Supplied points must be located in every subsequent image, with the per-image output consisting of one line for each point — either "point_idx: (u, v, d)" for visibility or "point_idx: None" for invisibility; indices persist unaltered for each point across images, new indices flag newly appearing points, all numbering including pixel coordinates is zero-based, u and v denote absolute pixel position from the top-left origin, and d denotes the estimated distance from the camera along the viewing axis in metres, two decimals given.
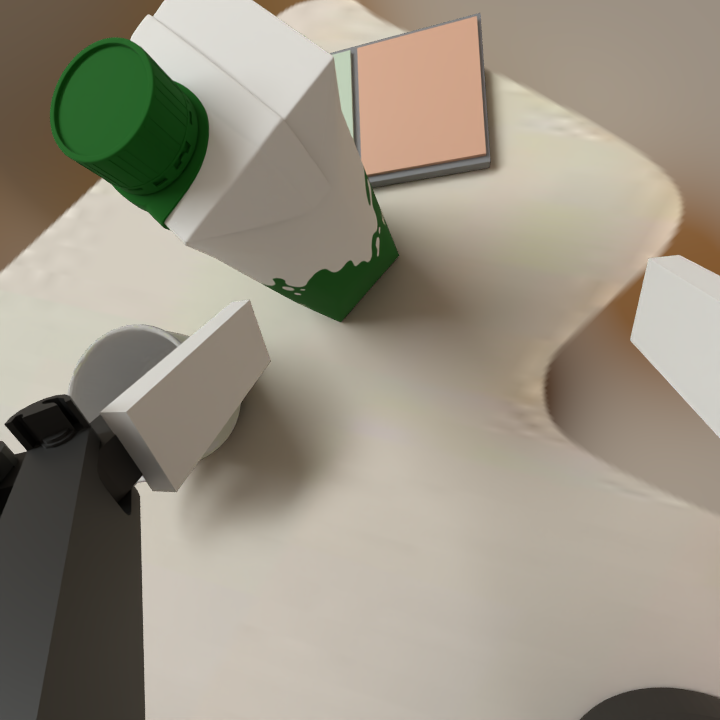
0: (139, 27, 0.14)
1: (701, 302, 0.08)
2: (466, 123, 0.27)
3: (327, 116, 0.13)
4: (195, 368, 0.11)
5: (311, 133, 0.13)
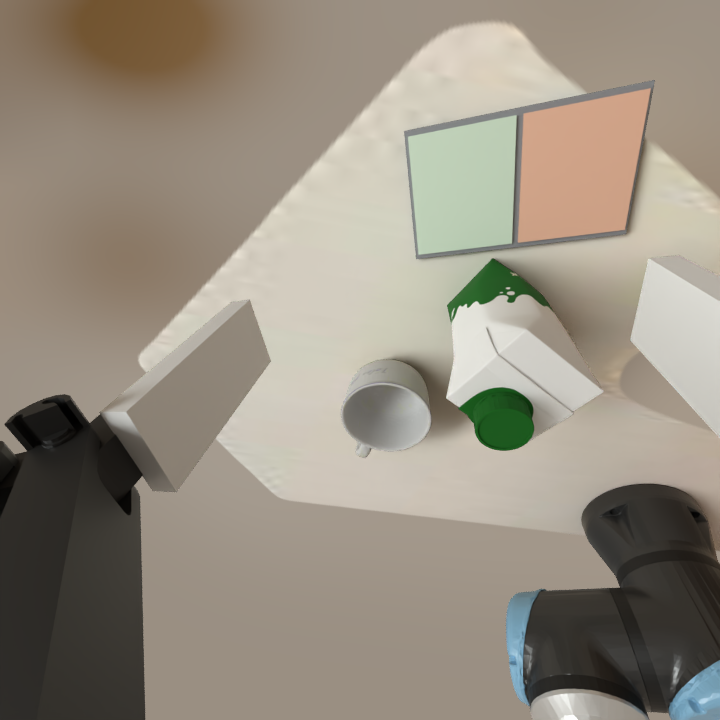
0: (492, 361, 0.26)
1: (701, 302, 0.08)
2: (614, 202, 0.34)
3: None
4: (195, 368, 0.11)
5: None
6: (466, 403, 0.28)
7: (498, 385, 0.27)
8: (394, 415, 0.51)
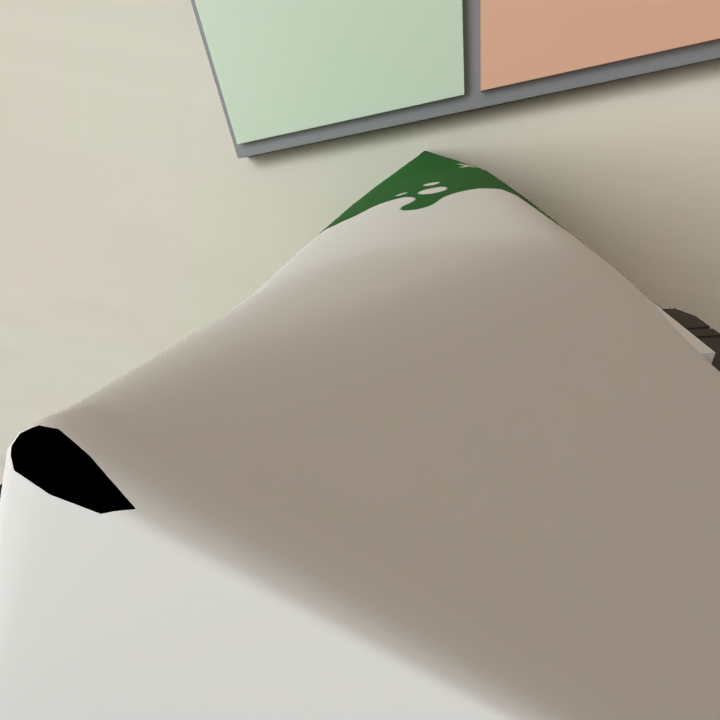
0: None
1: None
2: None
3: None
4: None
5: None
6: None
7: None
8: None
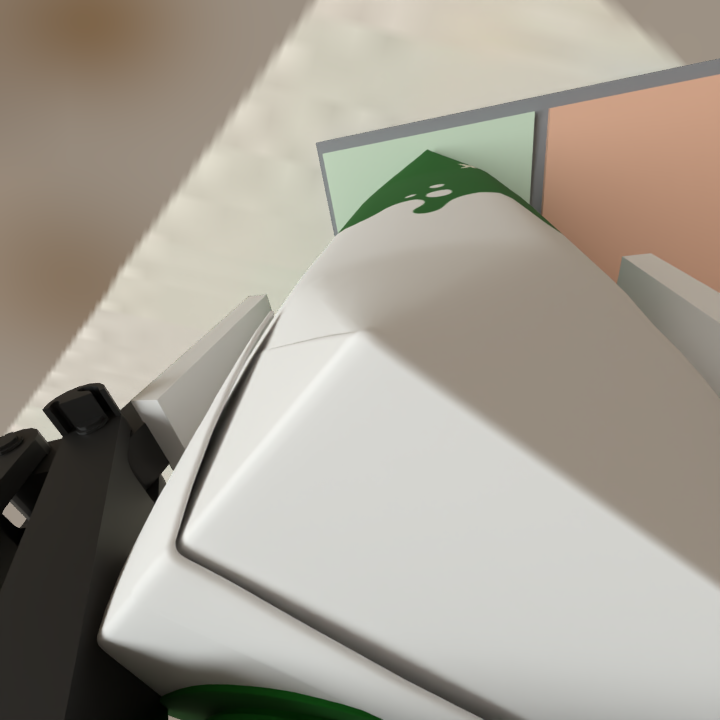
0: (154, 591, 0.03)
1: (665, 297, 0.09)
2: None
3: None
4: (218, 360, 0.11)
5: None
6: (165, 703, 0.05)
7: (281, 680, 0.04)
8: None
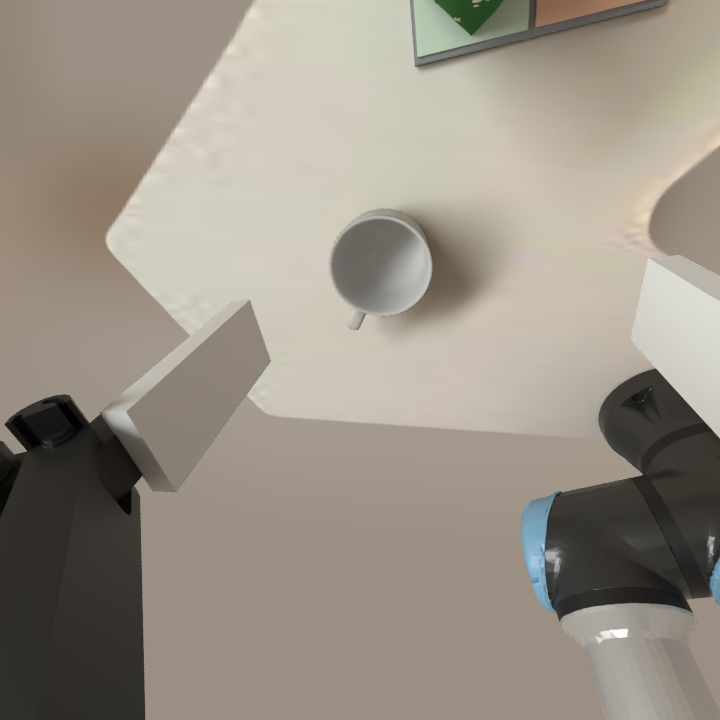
0: None
1: (701, 302, 0.08)
2: None
3: None
4: (195, 368, 0.11)
5: None
6: None
7: None
8: (391, 288, 0.45)
